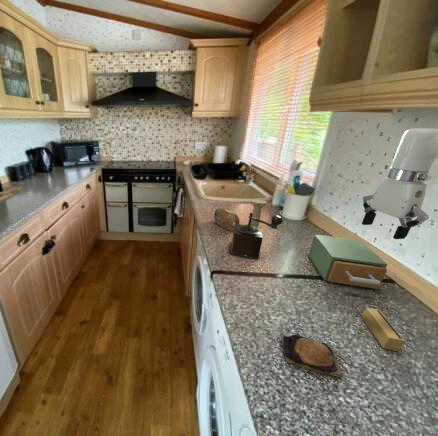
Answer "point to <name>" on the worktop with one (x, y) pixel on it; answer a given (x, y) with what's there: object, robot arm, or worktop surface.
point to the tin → (226, 218)
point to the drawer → (356, 274)
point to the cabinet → (340, 253)
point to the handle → (257, 210)
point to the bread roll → (310, 355)
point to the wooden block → (382, 329)
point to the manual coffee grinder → (250, 237)
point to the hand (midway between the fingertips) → (381, 231)
